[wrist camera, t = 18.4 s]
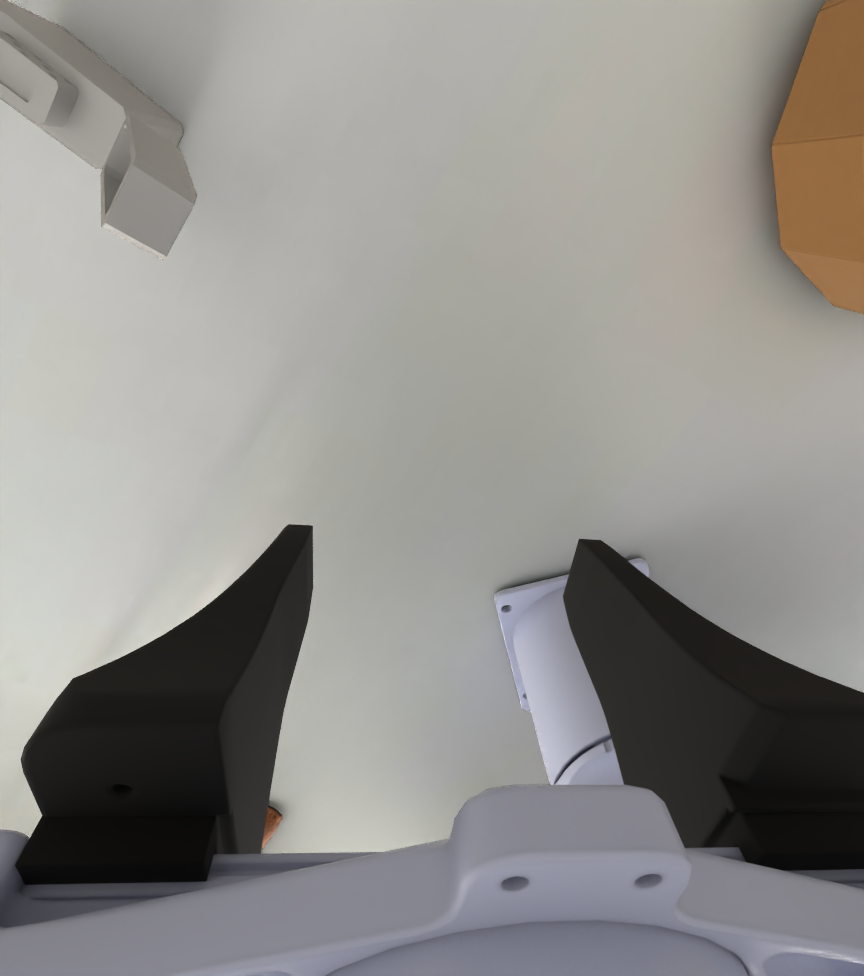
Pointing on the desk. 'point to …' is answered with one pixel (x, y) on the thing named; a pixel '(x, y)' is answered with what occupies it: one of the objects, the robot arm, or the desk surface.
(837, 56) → the tape roll
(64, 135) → the lighter
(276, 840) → the desk surface
